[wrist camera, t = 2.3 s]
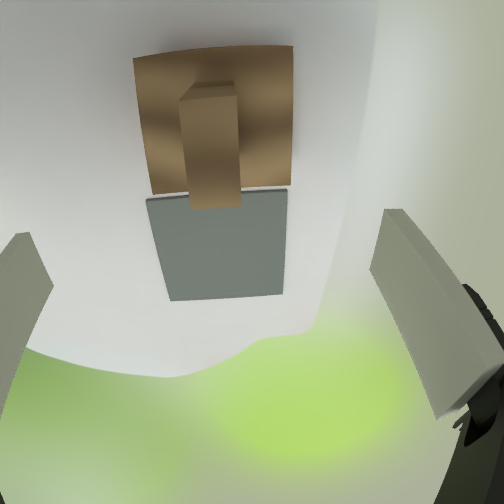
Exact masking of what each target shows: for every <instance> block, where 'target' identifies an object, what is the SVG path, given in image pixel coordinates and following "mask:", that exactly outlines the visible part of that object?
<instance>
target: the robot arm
mask: <svg viewBox="0 0 504 504" xmlns="http://www.w3.org/2000/svg"><path fill="white" fill-rule="evenodd" d="M370 271H371V273H372V275H373V277H374V279H375V281H376V283H377V285H378V287H379V289H380V291H381V293H382V295H383V297H384V299H385V301H386V303H387V305H388V307H389V309H390V311H391V313H392V315H393V318H394V320H395V322H396V324H397V326H398V328H399V330H400V333H401V335H402V337H403V339H404V341H405V344H406V346H407V348H408V350H409V353H410V355H411V357H412V359H413V362H414V364H415V367H416V369H417V371H418V374H419V376H420V379H421V381H422V384H423V386H424V389H425V391H426V394H427V396H428V399H429V401H430V404H431V407H432V409H433V412H434V415H435V417H436V420H438V419H441V418H444V417H446V416H449V415H451V414H454V413H456V412H457V411H459V410H460V409H461V408H462V407H463V406H464V405H465V404H466V403H467V404H468V407H469V410H468V411H467V412H466V413H465V414H464V415H463V416H462V417H460V418H459V419H458V420H457V421H456V422H455V424H454V425H453V428H454V429H455V428H457V427H458V426H459V425H460V424H461V423H463V425H462V427H461V428H460V429H459V430H460V431H461V432H460V435H459V438H458V441H457V444H456V448H455V451H454V454H453V456H452V459H451V462H450V465H449V468H448V470H447V473H446V475H445V478H444V480H443V483H442V485H441V488H440V490H439V493H438V495H437V497H436V499H435V502H434V504H504V333H503V331H502V329H501V328H500V326H499V325H498V323H497V321H496V320H495V319H493V315H492V314H491V312H490V311H489V310H488V309H487V306H486V305H485V303H484V302H483V300H482V299H481V297H480V296H479V294H478V293H476V292H475V291H474V290H473V289H472V288H471V287H470V286H468V285H467V284H461V283H460V281H459V280H458V279H457V277H456V276H455V275H454V273H453V272H452V270H451V269H450V268H449V266H448V265H447V264H446V262H445V261H444V260H443V258H442V257H441V256H440V254H439V253H438V252H437V250H436V249H435V248H434V247H433V245H432V244H431V243H430V241H429V240H428V239H427V238H426V237H425V235H424V234H423V233H422V232H421V230H420V229H419V228H418V227H417V226H416V224H415V223H414V222H413V221H412V220H411V218H410V217H409V216H408V215H407V214H406V213H405V211H404V210H403V209H384V213H383V217H382V222H381V226H380V230H379V234H378V239H377V243H376V247H375V251H374V254H373V258H372V262H371V266H370ZM53 287H54V285H53V283H52V281H51V279H50V277H49V275H48V273H47V271H46V269H45V267H44V265H43V262H42V260H41V258H40V256H39V254H38V251H37V249H36V247H35V244H34V242H33V240H32V237H31V235H30V232H25V233H18V234H16V235H15V236H14V237H13V238H12V240H11V241H10V242H9V243H8V245H7V246H6V247H5V249H4V250H3V251H2V253H1V254H0V418H1V415H2V412H3V408H4V405H5V402H6V399H7V395H8V392H9V389H10V387H11V383H12V380H13V378H14V375H15V372H16V370H17V367H18V364H19V362H20V359H21V357H22V354H23V352H24V349H25V347H26V344H27V342H28V340H29V337H30V335H31V333H32V330H33V328H34V326H35V324H36V322H37V319H38V317H39V315H40V313H41V311H42V309H43V307H44V305H45V303H46V300H47V298H48V296H49V294H50V292H51V291H52V289H53ZM0 504H5V502H4V500H3V497H2V495H1V493H0Z"/></svg>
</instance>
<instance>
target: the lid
mask: <svg viewBox="0 0 504 504" xmlns="http://www.w3.org/2000/svg"><path fill="white" fill-rule="evenodd" d="M133 63H134V73H135V82H136V91H137V99H138V107H139V114H140V122H141V129H142V135H143V142H144V148H145V154H146V160H147V166H148V172H149V177H150V183H151V188H152V193H153V195H155V194H165V193H176V192H187V191H189V199H190V206H191V210H197V209H211V208H225V207H241V206H242V204H241V188H242V187H261V186H283V185H291V159H292V120H293V46H229V47H213V48H202V49H192V50H183V51H175V52H168V53H161V54H155V55H149V56H143V57H138V58H133Z"/></svg>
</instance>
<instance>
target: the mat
mask: <svg viewBox="0 0 504 504" xmlns="http://www.w3.org/2000/svg"><path fill="white" fill-rule="evenodd" d="M241 204H242V206H241V207H225V208H211V209H197V210H191V206H190V199H189V195H188V196H176V197H166V198H155V199H147V200H146V206H147V211H148V215H149V220H150V224H151V228H152V233H153V237H154V241H155V245H156V249H157V253H158V257H159V261H160V265H161V269H162V272H163V276H164V280H165V283H166V287H167V291H168V294H169V298H170V301H186V300H205V299H223V298H238V297H253V296H266V295H279V294H283V278H284V260H285V240H286V217H287V189H284V190H262V191H244V192H241Z"/></svg>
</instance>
